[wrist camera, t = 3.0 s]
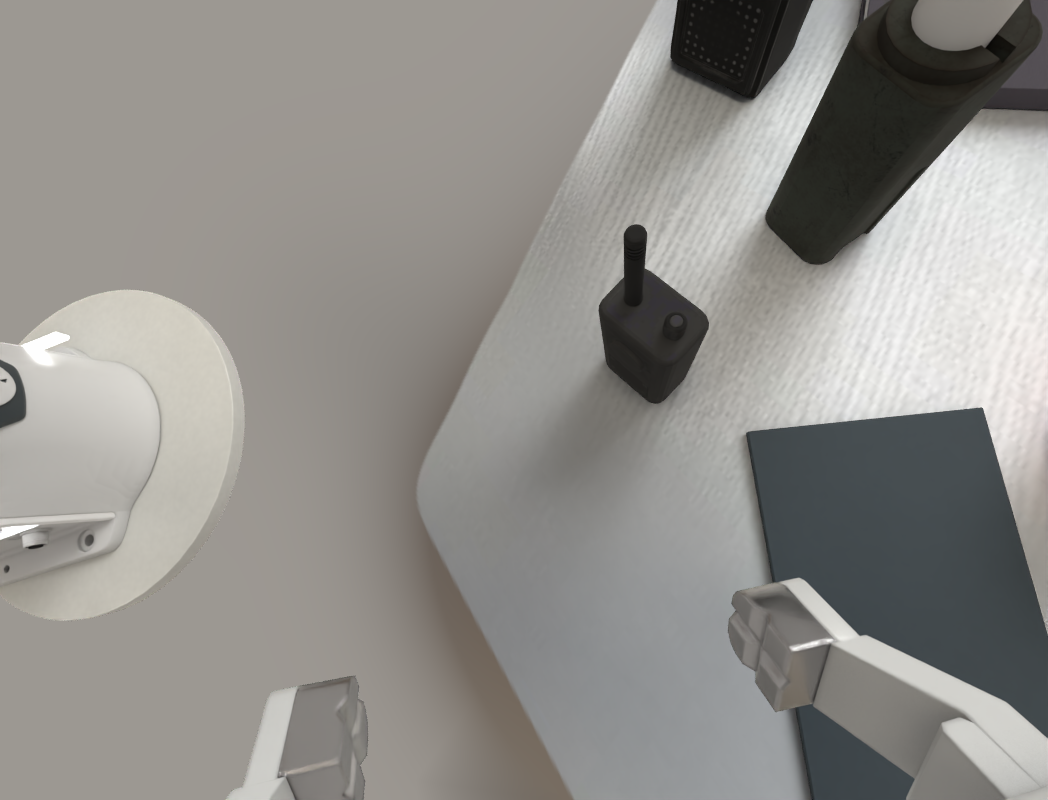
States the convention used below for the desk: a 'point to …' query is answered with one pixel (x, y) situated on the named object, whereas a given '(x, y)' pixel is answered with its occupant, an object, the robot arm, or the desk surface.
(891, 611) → the mat
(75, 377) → the robot arm
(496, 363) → the desk surface
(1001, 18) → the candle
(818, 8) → the desk surface
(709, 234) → the desk surface
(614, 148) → the desk surface
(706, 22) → the portable radio
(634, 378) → the walkie-talkie
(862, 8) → the notebook
